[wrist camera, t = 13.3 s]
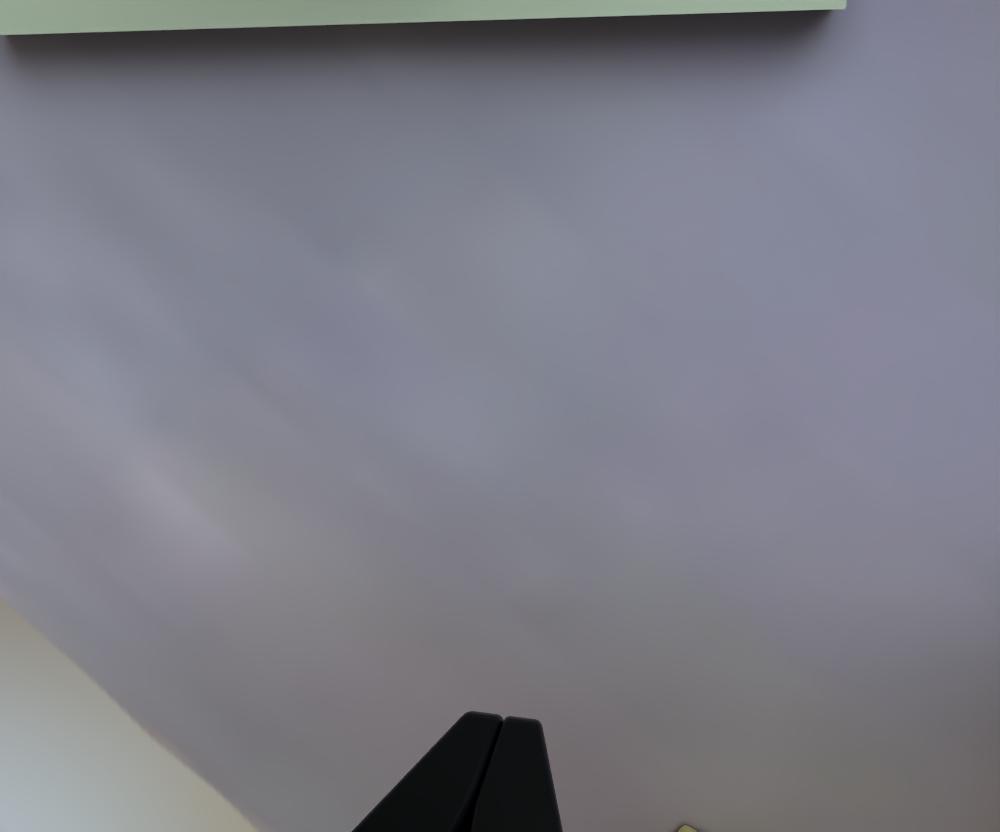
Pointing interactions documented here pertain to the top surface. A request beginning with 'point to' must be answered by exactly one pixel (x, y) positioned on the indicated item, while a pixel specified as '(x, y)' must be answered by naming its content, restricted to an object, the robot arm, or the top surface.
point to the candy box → (686, 829)
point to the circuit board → (339, 12)
